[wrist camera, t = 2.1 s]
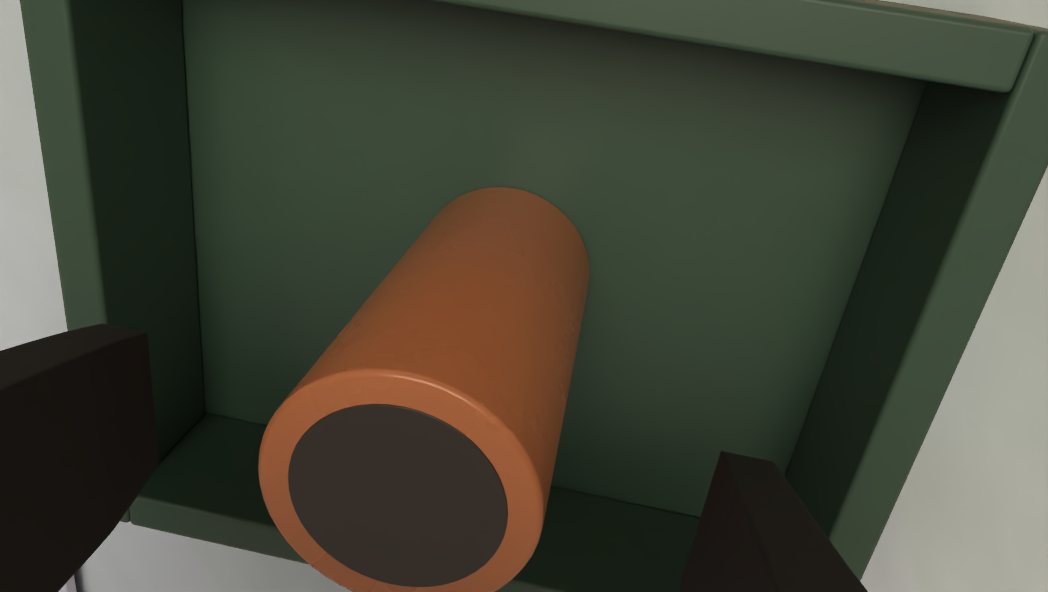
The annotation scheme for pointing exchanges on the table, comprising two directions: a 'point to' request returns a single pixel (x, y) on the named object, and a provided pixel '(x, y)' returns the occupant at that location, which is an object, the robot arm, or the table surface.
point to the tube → (437, 407)
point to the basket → (579, 193)
